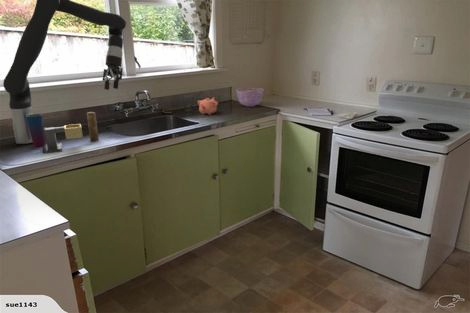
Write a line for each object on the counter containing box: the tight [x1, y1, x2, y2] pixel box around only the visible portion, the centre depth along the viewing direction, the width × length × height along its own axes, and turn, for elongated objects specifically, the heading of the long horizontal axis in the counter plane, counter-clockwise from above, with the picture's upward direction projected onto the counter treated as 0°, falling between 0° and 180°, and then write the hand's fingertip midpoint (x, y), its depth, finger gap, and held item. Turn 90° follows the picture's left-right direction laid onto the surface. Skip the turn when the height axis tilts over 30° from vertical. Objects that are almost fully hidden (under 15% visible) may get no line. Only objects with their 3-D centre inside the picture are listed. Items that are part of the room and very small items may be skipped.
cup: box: [26, 113, 46, 148], centre depth 180 cm, size 7×7×15 cm
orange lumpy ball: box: [197, 96, 219, 116], centre depth 247 cm, size 14×12×10 cm
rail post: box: [86, 111, 100, 142], centre depth 189 cm, size 4×4×14 cm
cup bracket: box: [42, 123, 84, 154], centre depth 177 cm, size 18×10×10 cm, turn 113°
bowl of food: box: [235, 87, 265, 108], centre depth 271 cm, size 20×20×12 cm
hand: (110, 89), depth 189 cm, fingers open, 8 cm apart
